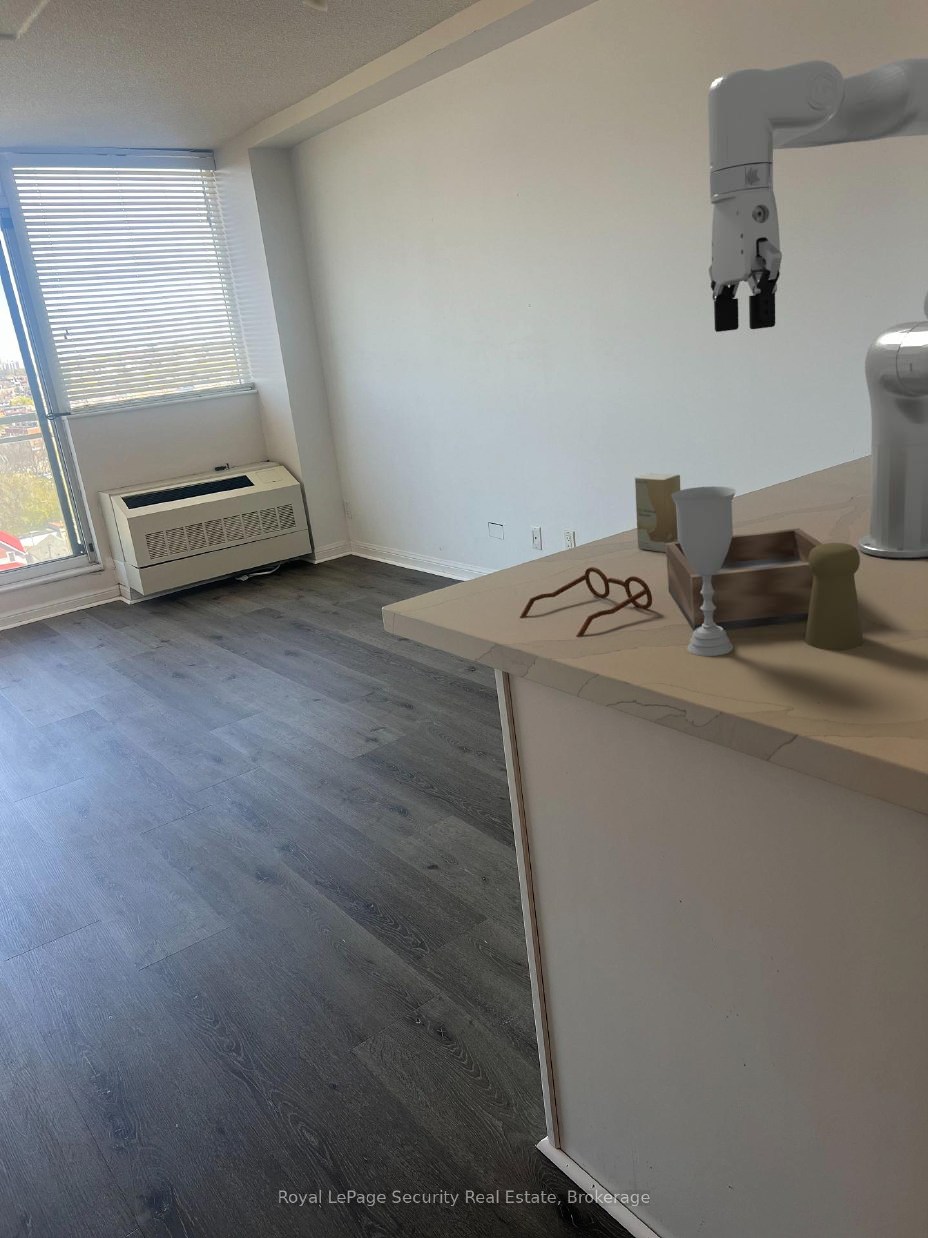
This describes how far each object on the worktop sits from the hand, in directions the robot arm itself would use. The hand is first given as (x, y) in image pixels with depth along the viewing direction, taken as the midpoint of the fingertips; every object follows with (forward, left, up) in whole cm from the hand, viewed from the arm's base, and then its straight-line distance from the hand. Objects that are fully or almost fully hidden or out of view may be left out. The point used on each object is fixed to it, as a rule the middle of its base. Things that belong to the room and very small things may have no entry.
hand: (743, 329), depth 115 cm
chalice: (+11, +26, -34) cm, 44 cm away
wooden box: (+3, +12, -34) cm, 36 cm away
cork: (-2, +28, -34) cm, 44 cm away
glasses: (+24, +9, -34) cm, 43 cm away
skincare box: (+9, -22, -34) cm, 42 cm away
